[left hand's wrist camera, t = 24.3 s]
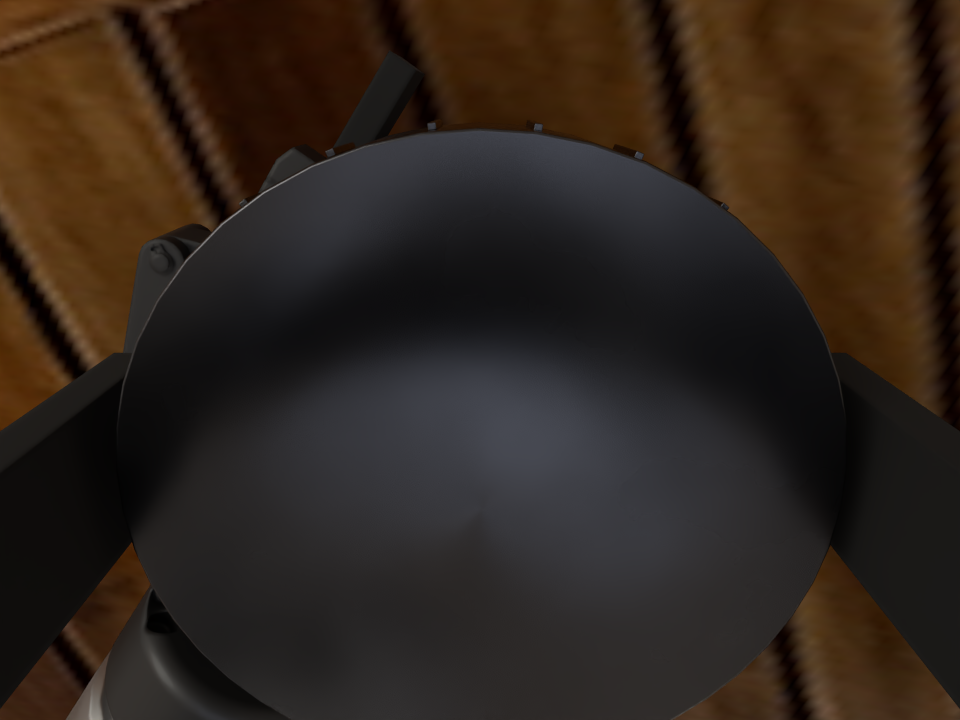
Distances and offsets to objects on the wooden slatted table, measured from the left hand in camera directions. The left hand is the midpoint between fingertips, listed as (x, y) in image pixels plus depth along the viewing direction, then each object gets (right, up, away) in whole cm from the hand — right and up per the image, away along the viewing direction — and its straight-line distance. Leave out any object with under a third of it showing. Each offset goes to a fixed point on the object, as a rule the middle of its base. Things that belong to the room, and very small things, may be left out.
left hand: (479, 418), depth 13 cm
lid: (0, -1, -2) cm, 3 cm away
